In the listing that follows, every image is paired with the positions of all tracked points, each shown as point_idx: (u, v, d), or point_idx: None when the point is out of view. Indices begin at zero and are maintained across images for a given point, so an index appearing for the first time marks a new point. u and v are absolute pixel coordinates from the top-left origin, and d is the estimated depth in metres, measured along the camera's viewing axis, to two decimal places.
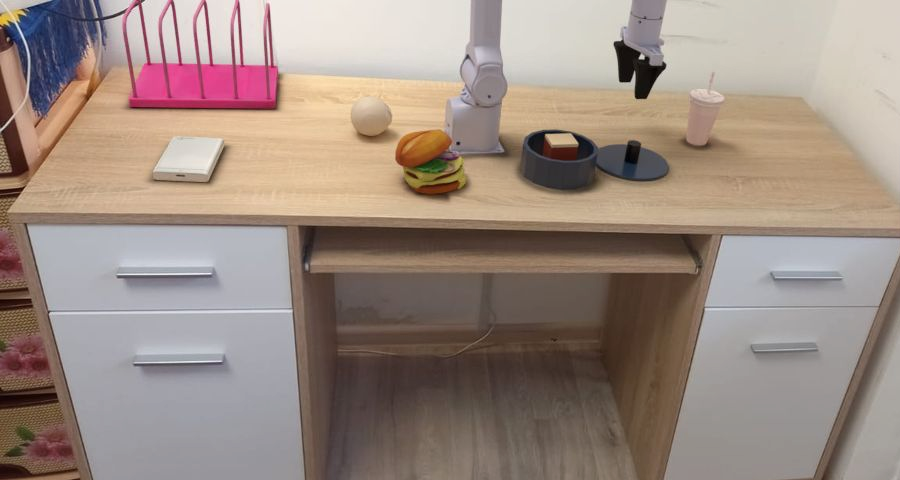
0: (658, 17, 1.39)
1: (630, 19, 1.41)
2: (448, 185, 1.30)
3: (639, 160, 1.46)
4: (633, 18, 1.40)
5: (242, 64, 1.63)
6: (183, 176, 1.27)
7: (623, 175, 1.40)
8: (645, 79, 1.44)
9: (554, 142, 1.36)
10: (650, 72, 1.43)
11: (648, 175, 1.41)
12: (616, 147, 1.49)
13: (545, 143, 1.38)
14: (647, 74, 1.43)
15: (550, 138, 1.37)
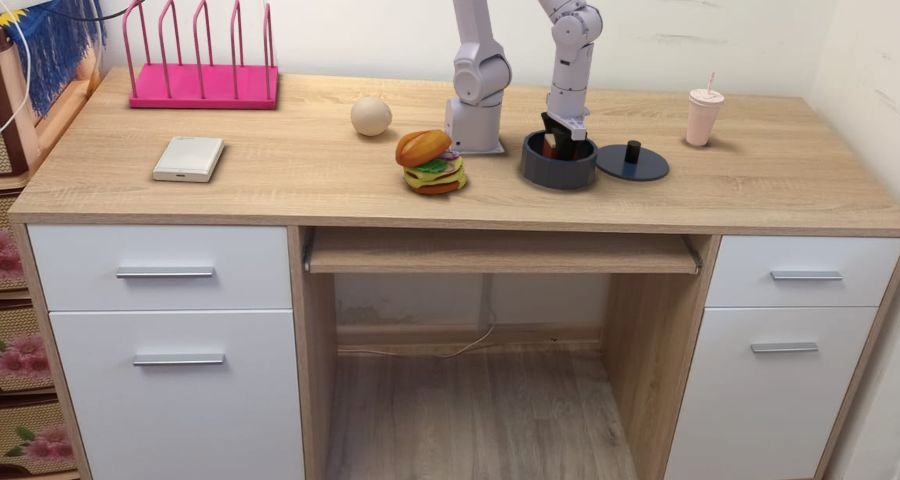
0: (566, 88, 1.29)
1: (552, 89, 1.32)
2: (448, 185, 1.30)
3: (639, 160, 1.46)
4: (554, 88, 1.31)
5: (242, 64, 1.63)
6: (183, 176, 1.27)
7: (623, 175, 1.40)
8: (566, 148, 1.35)
9: (554, 142, 1.36)
10: (571, 141, 1.35)
11: (648, 175, 1.41)
12: (616, 147, 1.49)
13: (545, 143, 1.38)
14: (568, 143, 1.35)
15: (550, 138, 1.37)
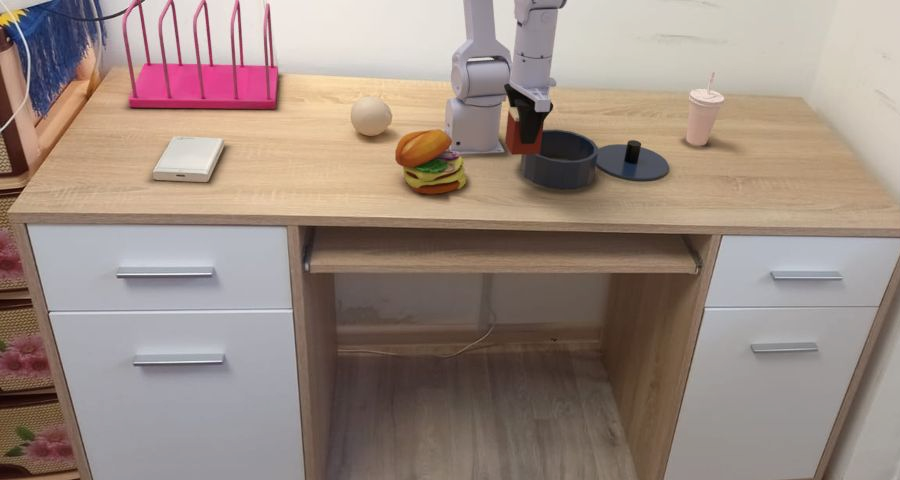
0: (519, 52, 1.20)
1: (514, 57, 1.22)
2: (448, 185, 1.30)
3: (639, 160, 1.46)
4: (516, 56, 1.21)
5: (242, 64, 1.63)
6: (183, 176, 1.27)
7: (623, 175, 1.40)
8: (531, 121, 1.25)
9: (518, 115, 1.26)
10: (536, 114, 1.25)
11: (648, 175, 1.41)
12: (616, 147, 1.49)
13: (509, 117, 1.28)
14: (532, 116, 1.25)
15: (514, 111, 1.27)
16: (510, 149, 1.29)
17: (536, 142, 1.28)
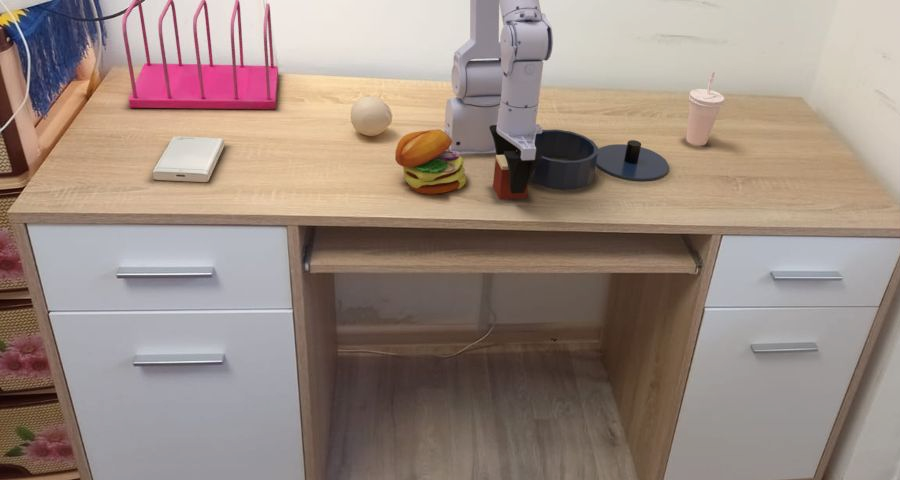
0: (504, 101, 1.23)
1: (500, 106, 1.24)
2: (448, 185, 1.30)
3: (639, 160, 1.46)
4: (503, 105, 1.24)
5: (242, 64, 1.63)
6: (183, 176, 1.27)
7: (623, 175, 1.40)
8: (520, 172, 1.27)
9: (504, 164, 1.29)
10: (525, 165, 1.26)
11: (648, 175, 1.41)
12: (616, 147, 1.49)
13: (496, 164, 1.31)
14: (521, 167, 1.26)
15: (501, 159, 1.30)
16: None
17: None
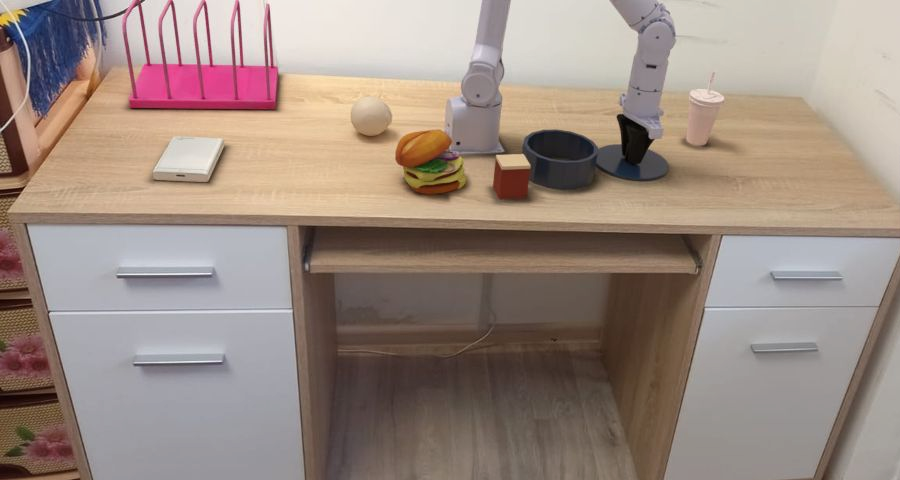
0: (652, 89, 1.35)
1: (629, 90, 1.38)
2: (448, 185, 1.30)
3: None
4: (631, 90, 1.37)
5: (242, 65, 1.63)
6: (183, 176, 1.27)
7: (623, 175, 1.41)
8: (639, 144, 1.42)
9: (504, 164, 1.29)
10: (644, 138, 1.41)
11: (648, 175, 1.41)
12: (616, 147, 1.50)
13: (496, 164, 1.31)
14: (641, 139, 1.41)
15: (501, 159, 1.30)
16: None
17: (523, 189, 1.31)
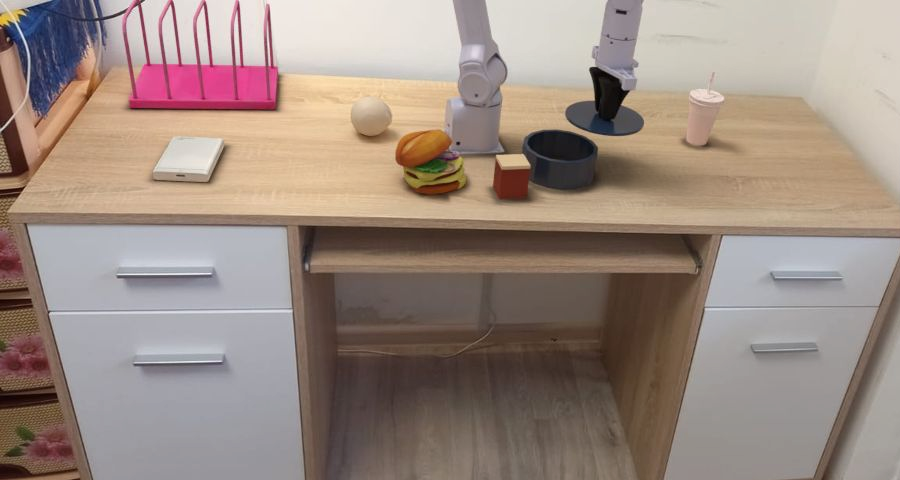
0: (622, 38, 1.28)
1: (601, 39, 1.30)
2: (448, 185, 1.30)
3: None
4: (604, 38, 1.29)
5: (242, 65, 1.62)
6: (183, 176, 1.27)
7: (596, 130, 1.33)
8: (613, 98, 1.34)
9: (504, 164, 1.29)
10: (617, 91, 1.34)
11: (622, 130, 1.34)
12: (590, 103, 1.42)
13: (496, 164, 1.31)
14: (614, 93, 1.34)
15: (501, 159, 1.30)
16: None
17: (523, 189, 1.31)
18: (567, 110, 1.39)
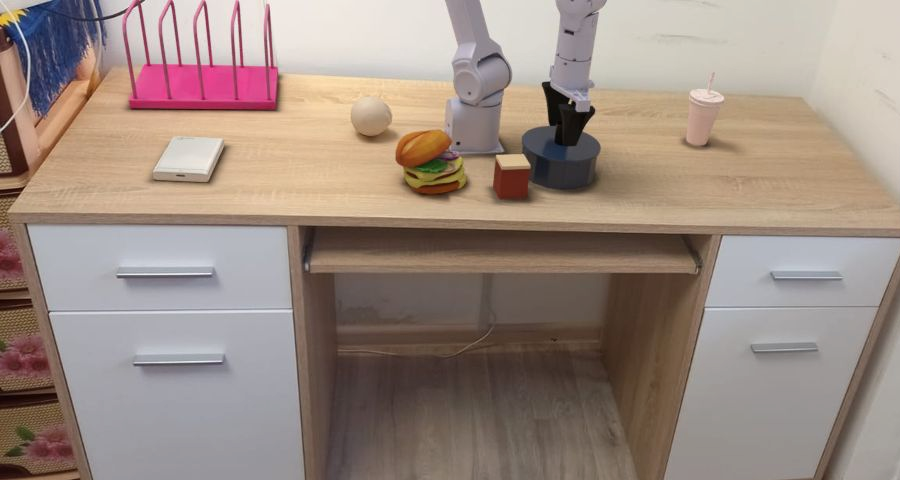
0: (571, 58, 1.27)
1: (555, 60, 1.29)
2: (448, 185, 1.30)
3: None
4: (558, 59, 1.28)
5: (242, 65, 1.62)
6: (183, 176, 1.27)
7: (550, 157, 1.33)
8: (573, 125, 1.31)
9: (504, 164, 1.29)
10: (578, 118, 1.31)
11: (577, 157, 1.33)
12: (548, 129, 1.42)
13: (496, 164, 1.31)
14: (575, 120, 1.31)
15: (501, 159, 1.30)
16: None
17: (523, 189, 1.31)
18: (524, 136, 1.38)
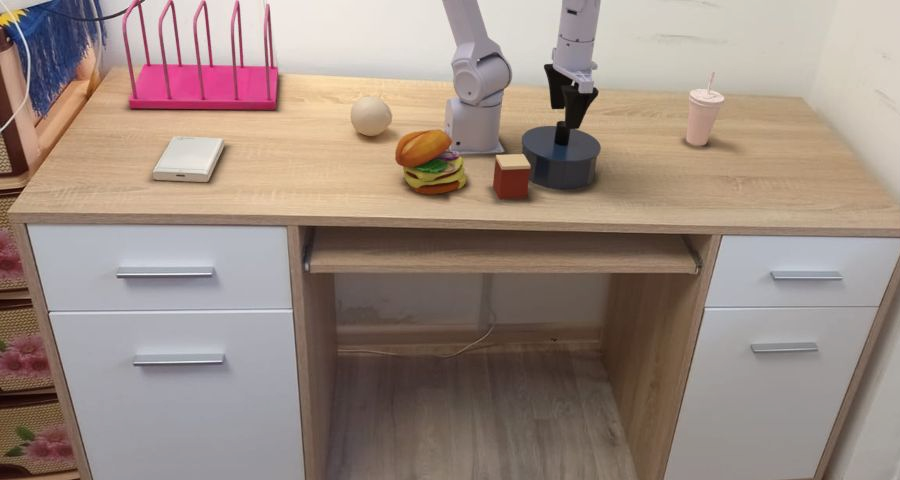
0: (573, 39, 1.25)
1: (558, 41, 1.27)
2: (448, 185, 1.30)
3: (570, 142, 1.38)
4: (560, 40, 1.26)
5: (242, 65, 1.62)
6: (183, 176, 1.27)
7: (550, 157, 1.33)
8: (576, 107, 1.30)
9: (504, 164, 1.29)
10: (581, 99, 1.29)
11: (577, 157, 1.33)
12: (548, 129, 1.42)
13: (496, 164, 1.31)
14: (578, 102, 1.29)
15: (501, 159, 1.30)
16: None
17: (523, 189, 1.31)
18: (524, 136, 1.38)
